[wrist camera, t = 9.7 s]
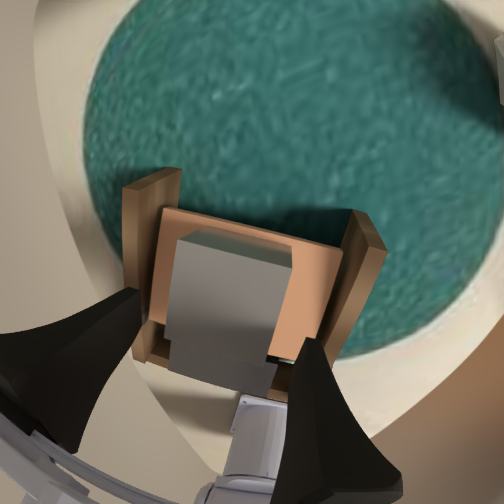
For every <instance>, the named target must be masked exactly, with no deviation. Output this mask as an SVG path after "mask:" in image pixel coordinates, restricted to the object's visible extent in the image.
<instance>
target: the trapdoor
mask: <svg viewBox="0 0 504 504" xmlns="http://www.w3.org/2000/svg"><path fill="white" fill-rule="evenodd" d="M206 226H212V227H217V228H221V229H225V230H229V231H233V232H237V233H241V234H245V235H249V236H253V237H257V238H261V239H265V240H269V241H273V242H277V243H281V244H285V245H289V246H291V247H292V268H293V269H292V272H291V276H290V280H289V283H288V287H287V290H286V294H285V297H284V301H283V304H282V308H281V311H280V314H279V318H278V321H277V324H276V328H275V331H274V334H273V338H272V341H271V344H270V347H269V351H268V354H267V357H266V360H265V363H264V367H261V366H257V365H253V364H249V363H245V362H241V361H238V360H234V359H230V358H227V357H223V356H220V355H216V354H213V353H209V352H206V351H203V350H199V349H196V348H193V347H190V346H187V345H184V344H181V343H178V342H175V341H172V340H171V347H170V356H169V366H168V370H170V371H172V372H175V373H178V374H181V375H184V376H187V377H190V378H193V379H197V380H200V381H203V382H206V383H210V384H213V385H217V386H220V387H224V388H227V389H231V390H235V391H238V392H242V393H246V394H250V395H254V396H259V397H263V398H267V395H268V392H269V389H270V387H271V384H272V381H273V378H274V375H275V373H276V370H277V367H278V361H279V357H281V358H286V359H290V360H295V361H296V358H297V356H298V354H299V352H300V349H301V347H302V345H303V343H304V340H305V338H306V337H310V338H314V339H315V337H316V334H317V332H318V329H319V326H320V323H321V320H322V318H323V315H324V312H325V309H326V306H327V303H328V300H329V297H330V294H331V291H332V288H333V285H334V281H335V278H336V275H337V272H338V269H339V265H340V262H341V259H342V255H343V251H342V250H341V249H340V248H337V247H333V246H329V245H325V244H321V243H318V242H314V241H310V240H306V239H302V238H298V237H294V236H290V235H286V234H283V233H279V232H275V231H271V230H267V229H263V228H258V227H254V226H250V225H246V224H242V223H238V222H234V221H230V220H225V219H221V218H217V217H213V216H208V215H204V214H200V213H196V212H191V211H187V210H183V209H178V208H174V207H166V208H163V213H162V219H161V225H160V232H159V238H158V245H157V252H156V259H155V266H154V274H153V283H152V292H151V301H150V312H149V319H150V320H153V321H156V322H159V323H161V324H164V325H165V324H166V315H167V307H168V299H169V292H170V285H171V278H172V271H173V264H174V258H175V252H176V246H177V240H178V239H179V238H182V237H184V236H186V235H188V234H190V233H193V232H195V231H197V230H199V229H202V228H204V227H206Z"/></svg>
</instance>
